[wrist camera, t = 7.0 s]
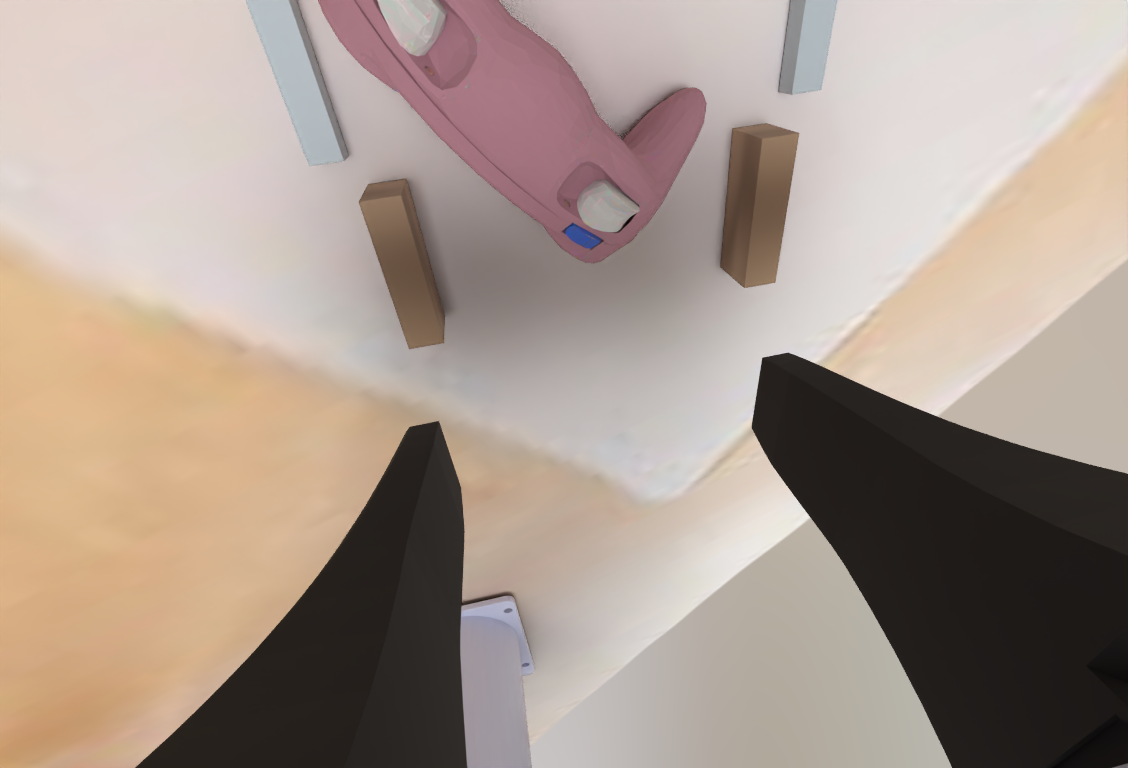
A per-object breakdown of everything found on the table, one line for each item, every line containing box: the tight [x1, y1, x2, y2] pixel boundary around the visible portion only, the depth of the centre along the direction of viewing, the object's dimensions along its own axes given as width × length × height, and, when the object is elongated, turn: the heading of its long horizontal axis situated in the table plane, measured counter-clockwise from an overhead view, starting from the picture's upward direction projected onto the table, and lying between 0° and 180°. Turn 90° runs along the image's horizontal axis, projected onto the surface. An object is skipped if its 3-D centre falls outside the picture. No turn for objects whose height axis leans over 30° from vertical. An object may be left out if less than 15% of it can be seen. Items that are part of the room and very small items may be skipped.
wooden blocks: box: [359, 124, 799, 349], centre depth 17 cm, size 5×13×2 cm, turn 96°
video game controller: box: [318, 0, 706, 263], centre depth 13 cm, size 10×5×7 cm, turn 46°
